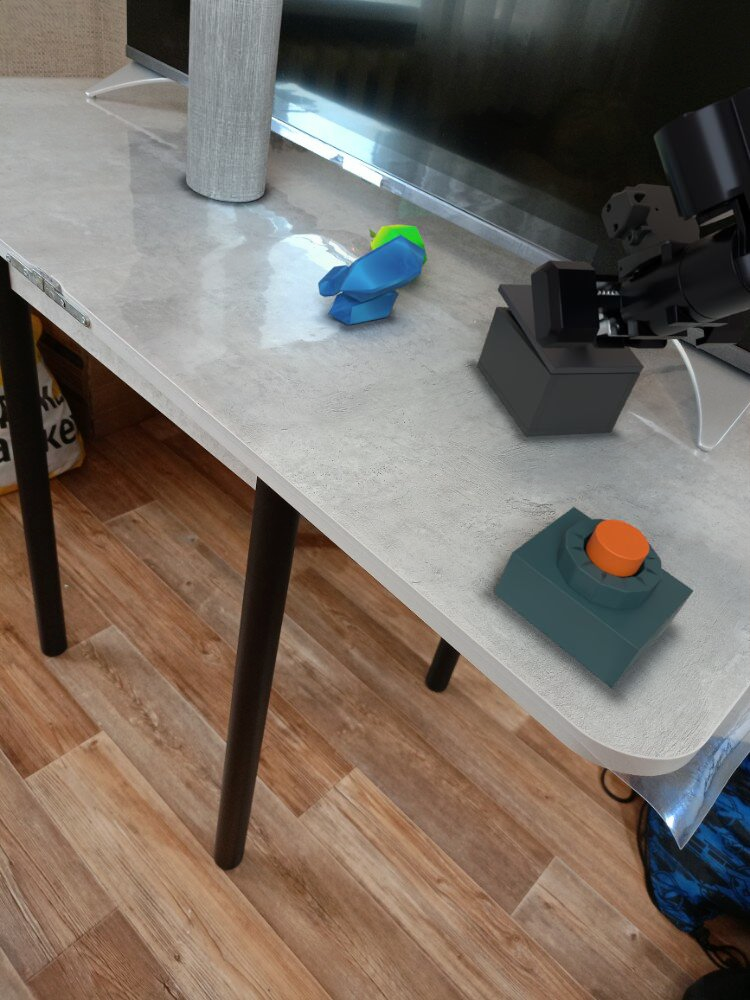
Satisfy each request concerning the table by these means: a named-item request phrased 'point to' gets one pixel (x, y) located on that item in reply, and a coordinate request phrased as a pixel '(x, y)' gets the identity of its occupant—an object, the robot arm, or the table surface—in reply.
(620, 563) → the button
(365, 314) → the crystal
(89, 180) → the table surface
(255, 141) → the grey fabric cylinder
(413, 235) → the apple
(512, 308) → the lid
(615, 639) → the control block
